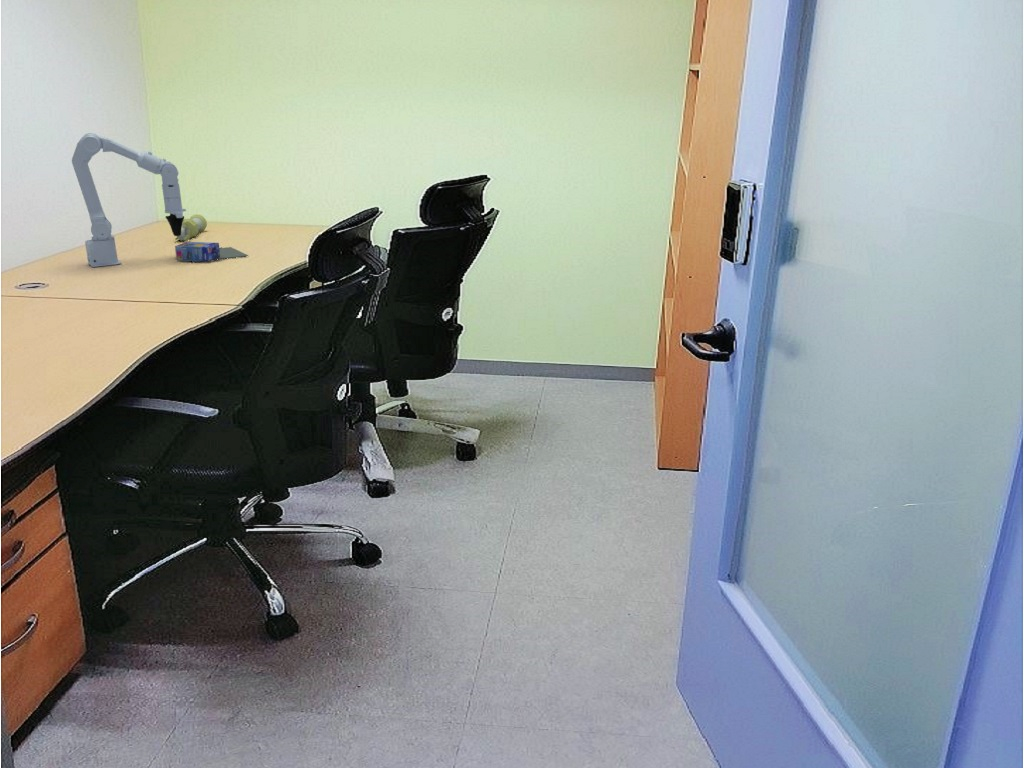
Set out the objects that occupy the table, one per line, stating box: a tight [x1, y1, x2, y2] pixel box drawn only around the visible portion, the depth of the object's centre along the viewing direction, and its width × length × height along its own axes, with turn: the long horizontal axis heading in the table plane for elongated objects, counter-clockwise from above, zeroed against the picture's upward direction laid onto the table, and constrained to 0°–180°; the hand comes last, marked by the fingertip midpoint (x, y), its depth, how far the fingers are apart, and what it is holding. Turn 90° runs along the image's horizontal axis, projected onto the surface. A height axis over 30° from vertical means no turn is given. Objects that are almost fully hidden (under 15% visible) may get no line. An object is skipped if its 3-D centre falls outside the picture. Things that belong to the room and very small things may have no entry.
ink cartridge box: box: [174, 241, 223, 262], centre depth 300 cm, size 10×6×14 cm
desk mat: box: [191, 246, 249, 263], centre depth 309 cm, size 20×20×1 cm
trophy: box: [174, 214, 208, 244], centre depth 345 cm, size 8×8×30 cm
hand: (177, 235), depth 300 cm, fingers closed
